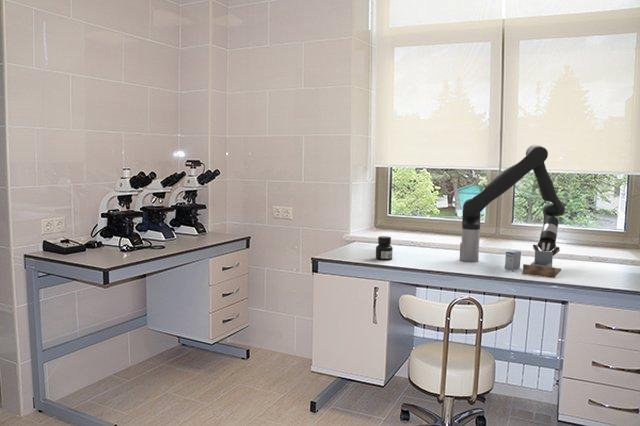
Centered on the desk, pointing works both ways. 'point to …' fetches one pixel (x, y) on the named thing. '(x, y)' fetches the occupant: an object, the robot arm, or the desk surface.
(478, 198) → the robot arm
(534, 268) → the backstop
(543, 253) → the grey open lidded box
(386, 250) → the ink bottle
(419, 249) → the desk surface
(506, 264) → the medicine box
